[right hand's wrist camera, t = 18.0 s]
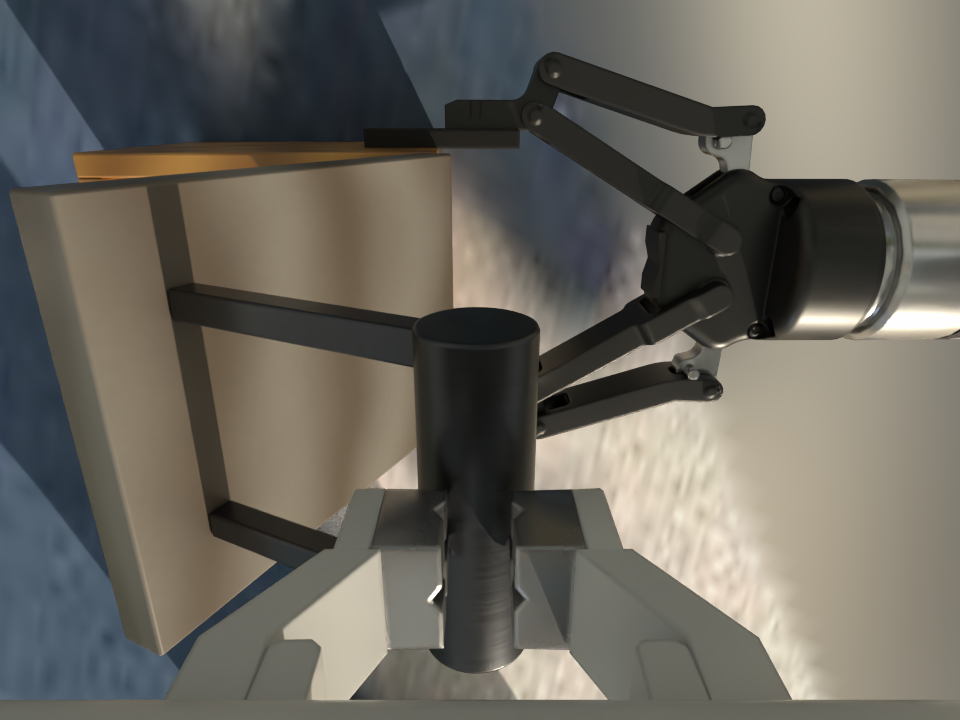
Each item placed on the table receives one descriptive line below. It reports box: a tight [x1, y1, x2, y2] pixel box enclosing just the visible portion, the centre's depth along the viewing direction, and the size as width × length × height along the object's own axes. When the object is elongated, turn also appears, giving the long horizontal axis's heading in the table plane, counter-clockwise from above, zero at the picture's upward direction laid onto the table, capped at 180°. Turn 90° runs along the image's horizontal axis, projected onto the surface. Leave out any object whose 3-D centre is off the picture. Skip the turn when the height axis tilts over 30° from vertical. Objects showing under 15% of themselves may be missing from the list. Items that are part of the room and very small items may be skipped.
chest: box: [73, 142, 441, 183], centre depth 30 cm, size 13×10×11 cm
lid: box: [9, 153, 540, 673], centre depth 17 cm, size 14×10×9 cm
